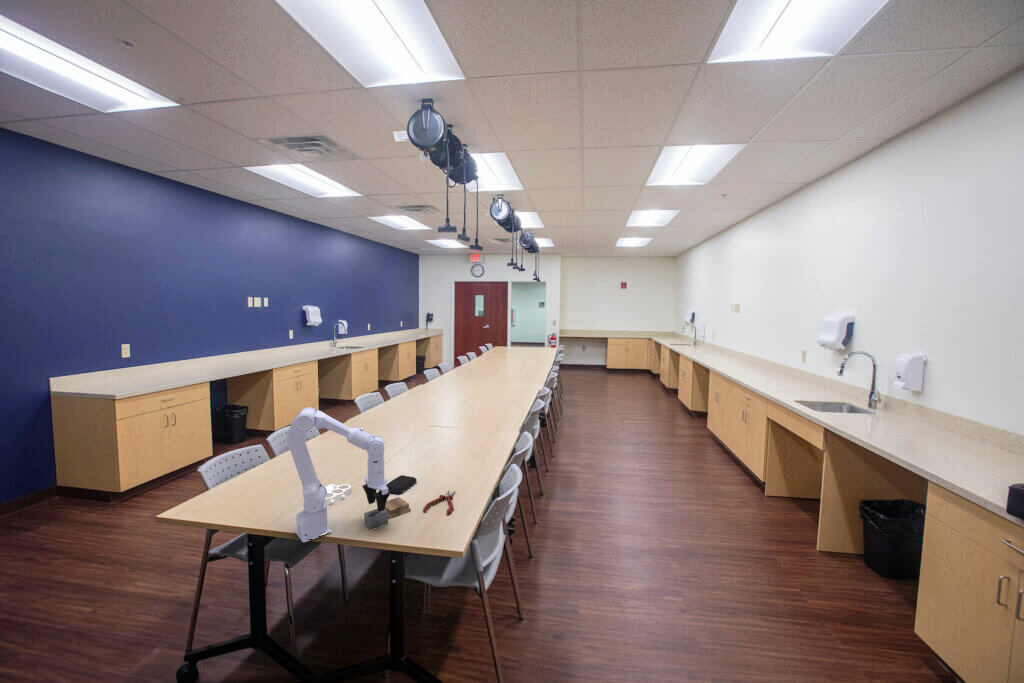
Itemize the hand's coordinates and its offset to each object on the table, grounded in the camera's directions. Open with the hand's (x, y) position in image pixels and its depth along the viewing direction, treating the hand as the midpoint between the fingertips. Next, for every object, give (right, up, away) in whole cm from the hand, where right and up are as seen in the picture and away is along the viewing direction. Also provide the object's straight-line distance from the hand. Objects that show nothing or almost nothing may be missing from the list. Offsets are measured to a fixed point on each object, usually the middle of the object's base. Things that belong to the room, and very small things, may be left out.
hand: (376, 506), depth 150 cm
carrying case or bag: (-1, -5, +33) cm, 33 cm away
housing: (0, -7, 0) cm, 7 cm away
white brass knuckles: (-27, -5, +21) cm, 34 cm away
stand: (+4, -6, +11) cm, 13 cm away
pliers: (+23, -7, +17) cm, 30 cm away
